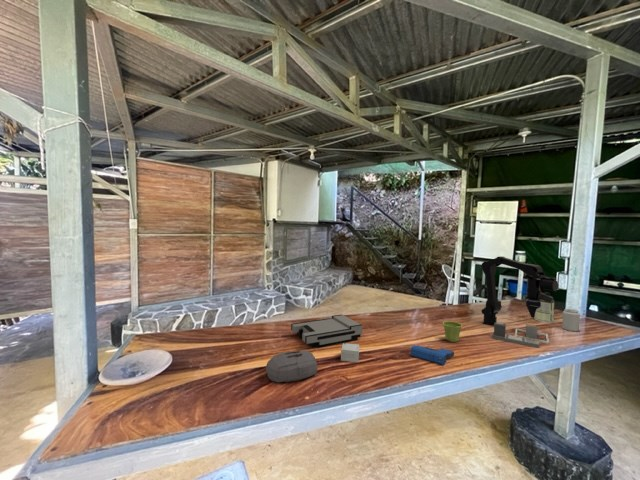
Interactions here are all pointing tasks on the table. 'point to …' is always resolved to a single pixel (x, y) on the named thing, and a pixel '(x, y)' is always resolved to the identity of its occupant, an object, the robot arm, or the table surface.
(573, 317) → the can
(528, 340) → the strip
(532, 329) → the plug
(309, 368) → the small grey backpack
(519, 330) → the white square frame
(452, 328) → the plant pot
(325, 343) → the game console
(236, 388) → the table surface
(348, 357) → the small box
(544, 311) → the green desk organizer
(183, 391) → the table surface
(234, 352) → the table surface
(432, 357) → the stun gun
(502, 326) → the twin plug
